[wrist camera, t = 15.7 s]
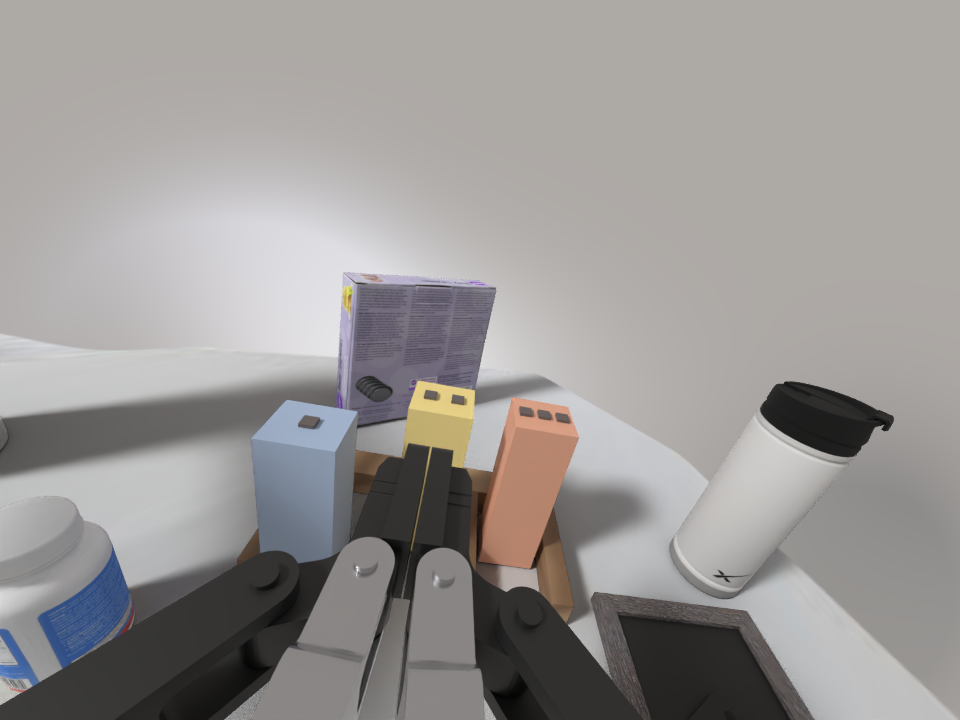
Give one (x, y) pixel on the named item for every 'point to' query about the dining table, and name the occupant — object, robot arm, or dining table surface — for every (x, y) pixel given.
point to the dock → (475, 534)
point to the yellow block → (440, 422)
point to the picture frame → (692, 661)
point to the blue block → (305, 479)
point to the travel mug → (770, 483)
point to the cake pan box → (407, 339)
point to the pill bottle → (55, 590)
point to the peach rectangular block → (525, 481)
